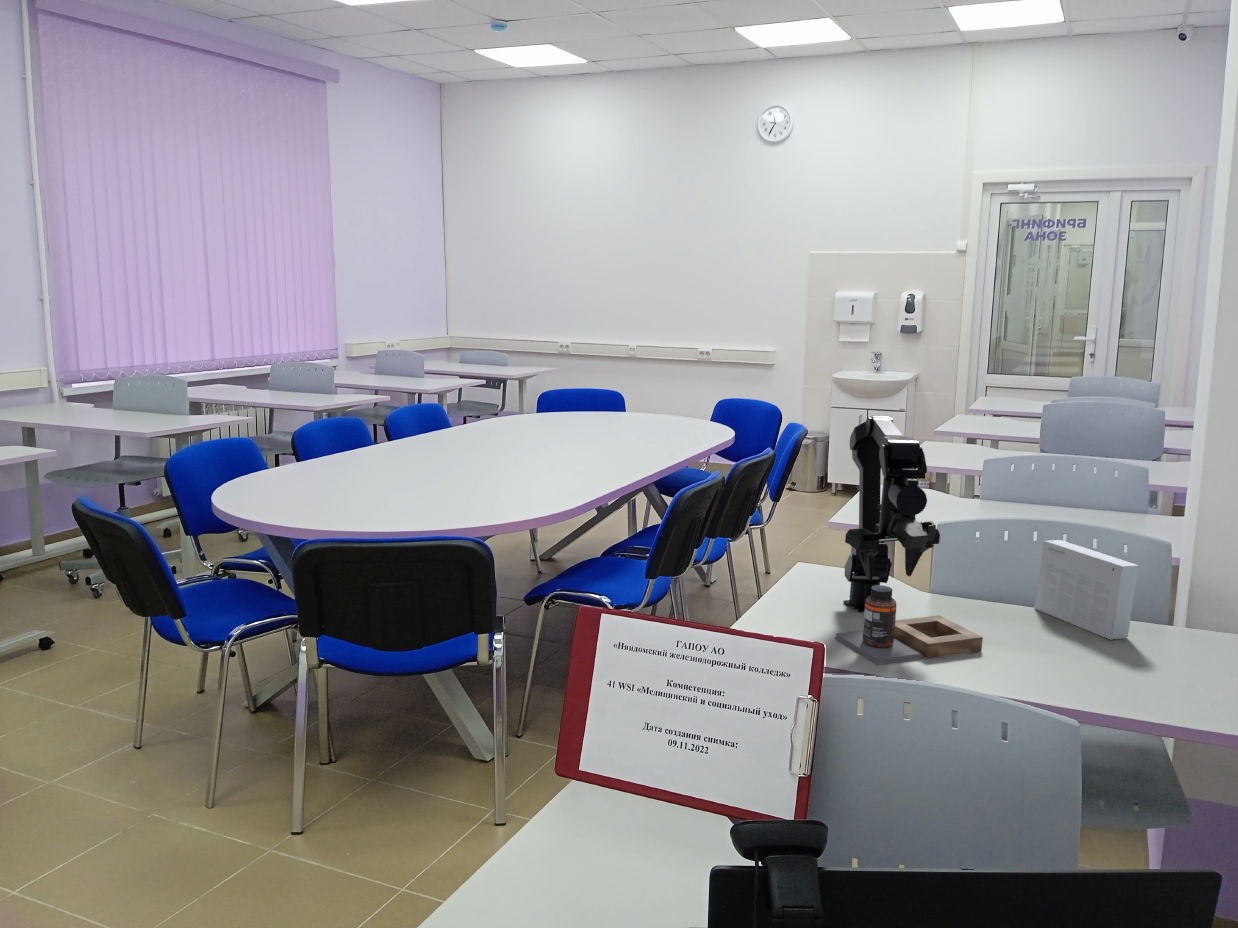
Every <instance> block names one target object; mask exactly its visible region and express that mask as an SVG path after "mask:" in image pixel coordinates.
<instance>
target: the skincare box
mask: <svg viewBox="0 0 1238 928" xmlns="http://www.w3.org/2000/svg"><path fill="white" fill-rule="evenodd" d="M1042 543H1043V545H1042V553H1041V561H1040V566H1039V571H1038V580H1037V589H1036V590H1037V591H1036V594H1035V600H1034V601H1035V603H1034V609H1035V610H1037V611H1040V612H1041V613H1044V614H1047V615H1049V616H1052V617H1054V618H1055V619H1058V618H1059V619H1058V620H1061V621H1063V620H1064V621H1063V622H1066V623H1068V622H1069V623H1068V624H1070V623H1071V625H1073V626H1075V625H1076V627H1077V628H1078V627H1079V628H1080V629H1083V630H1085V631H1088V632H1090V633H1092V634H1094V635H1097V634H1098V635H1097V636H1099V635H1100V637H1102V638H1104V637H1105V638H1104V639H1106V638H1107V640H1109V639H1110V640H1109V641H1113V639H1115V640H1120V639H1127V638H1126V637H1129V631H1130V624H1131V618H1132V611H1133V606H1134V600H1135V599H1134V597H1135V593H1136V587H1137V579H1138V573H1139V567H1140V565H1139V564H1136V563H1133V562H1129V561H1127V560H1123V559H1120V558H1117V557H1115V556H1111V555H1108V554H1105V553H1102V552H1099V551H1096V550H1092V549H1089V548H1086V547H1083V546H1080V545H1078V544H1074V543H1071V542H1068V541H1065V540H1061V539H1056V540H1055V539H1053V540H1052V539H1051V540H1050V539H1049V540H1043V542H1042Z"/></svg>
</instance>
